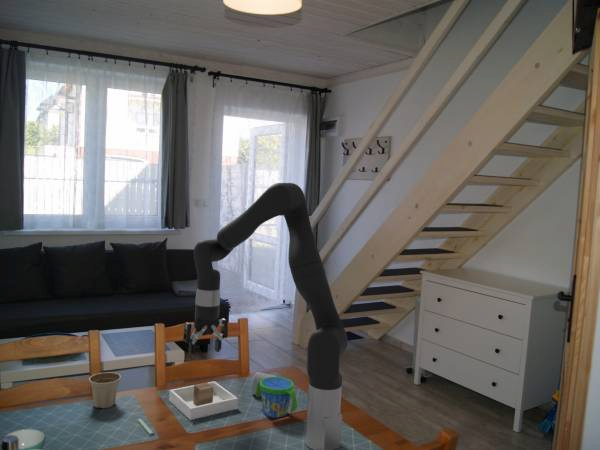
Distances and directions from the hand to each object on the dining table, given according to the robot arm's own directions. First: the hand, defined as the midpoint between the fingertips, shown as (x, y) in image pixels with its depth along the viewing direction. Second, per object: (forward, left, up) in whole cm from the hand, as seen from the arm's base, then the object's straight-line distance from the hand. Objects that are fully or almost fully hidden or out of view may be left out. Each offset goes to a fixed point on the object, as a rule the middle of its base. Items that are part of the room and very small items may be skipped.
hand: (205, 353), depth 163 cm
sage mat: (-5, +16, -17) cm, 24 cm away
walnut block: (0, 0, -17) cm, 17 cm away
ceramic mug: (-1, -23, -18) cm, 29 cm away
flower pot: (+16, +26, -18) cm, 35 cm away
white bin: (0, 0, -17) cm, 17 cm away
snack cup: (-16, -17, -18) cm, 29 cm away
